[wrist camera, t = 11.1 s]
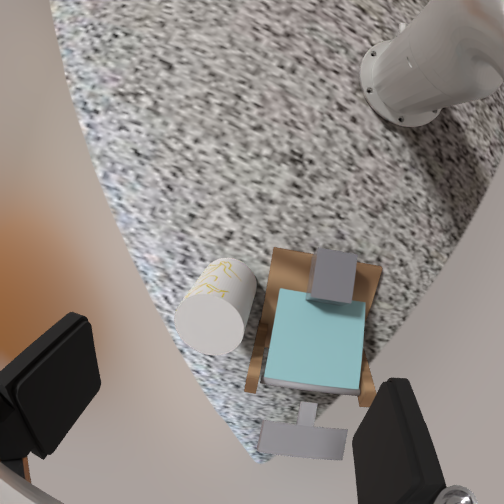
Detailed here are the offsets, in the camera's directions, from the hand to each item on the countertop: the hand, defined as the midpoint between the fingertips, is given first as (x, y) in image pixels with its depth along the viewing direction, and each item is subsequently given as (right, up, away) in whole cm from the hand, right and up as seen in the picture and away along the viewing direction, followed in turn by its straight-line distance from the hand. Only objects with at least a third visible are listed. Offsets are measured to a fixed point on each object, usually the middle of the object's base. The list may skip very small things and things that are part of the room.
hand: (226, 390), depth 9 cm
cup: (-3, -1, +37) cm, 37 cm away
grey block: (+10, -2, +29) cm, 31 cm away
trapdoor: (+8, -12, +29) cm, 33 cm away
